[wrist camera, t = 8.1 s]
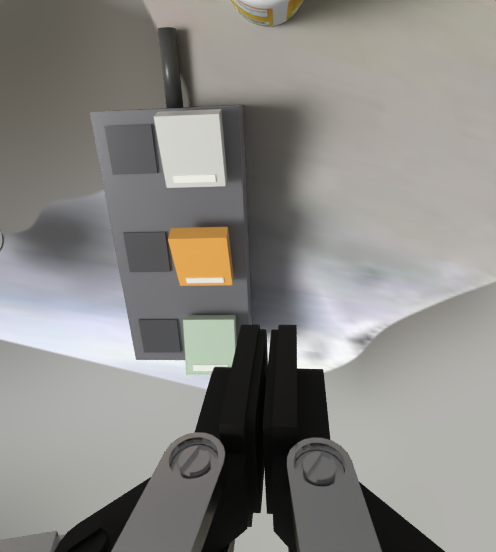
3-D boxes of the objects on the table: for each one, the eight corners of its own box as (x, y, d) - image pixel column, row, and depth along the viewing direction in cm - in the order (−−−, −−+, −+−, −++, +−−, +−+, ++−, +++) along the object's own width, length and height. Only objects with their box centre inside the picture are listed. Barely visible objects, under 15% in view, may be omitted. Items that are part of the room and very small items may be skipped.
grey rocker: (221, 109, 25) (218, 114, 24) (227, 179, 27) (225, 186, 26) (158, 111, 25) (153, 116, 24) (170, 181, 28) (166, 188, 27)
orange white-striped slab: (227, 226, 27) (226, 238, 26) (233, 274, 31) (232, 285, 30) (170, 227, 28) (167, 239, 27) (182, 274, 31) (179, 286, 30)
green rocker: (235, 314, 32) (233, 320, 30) (237, 368, 33) (235, 375, 31) (186, 315, 32) (182, 320, 31) (189, 368, 33) (186, 374, 32)
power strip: (239, 26, 27) (233, 13, 23) (252, 334, 37) (250, 363, 33) (99, 34, 28) (70, 23, 24) (149, 334, 38) (134, 362, 34)
